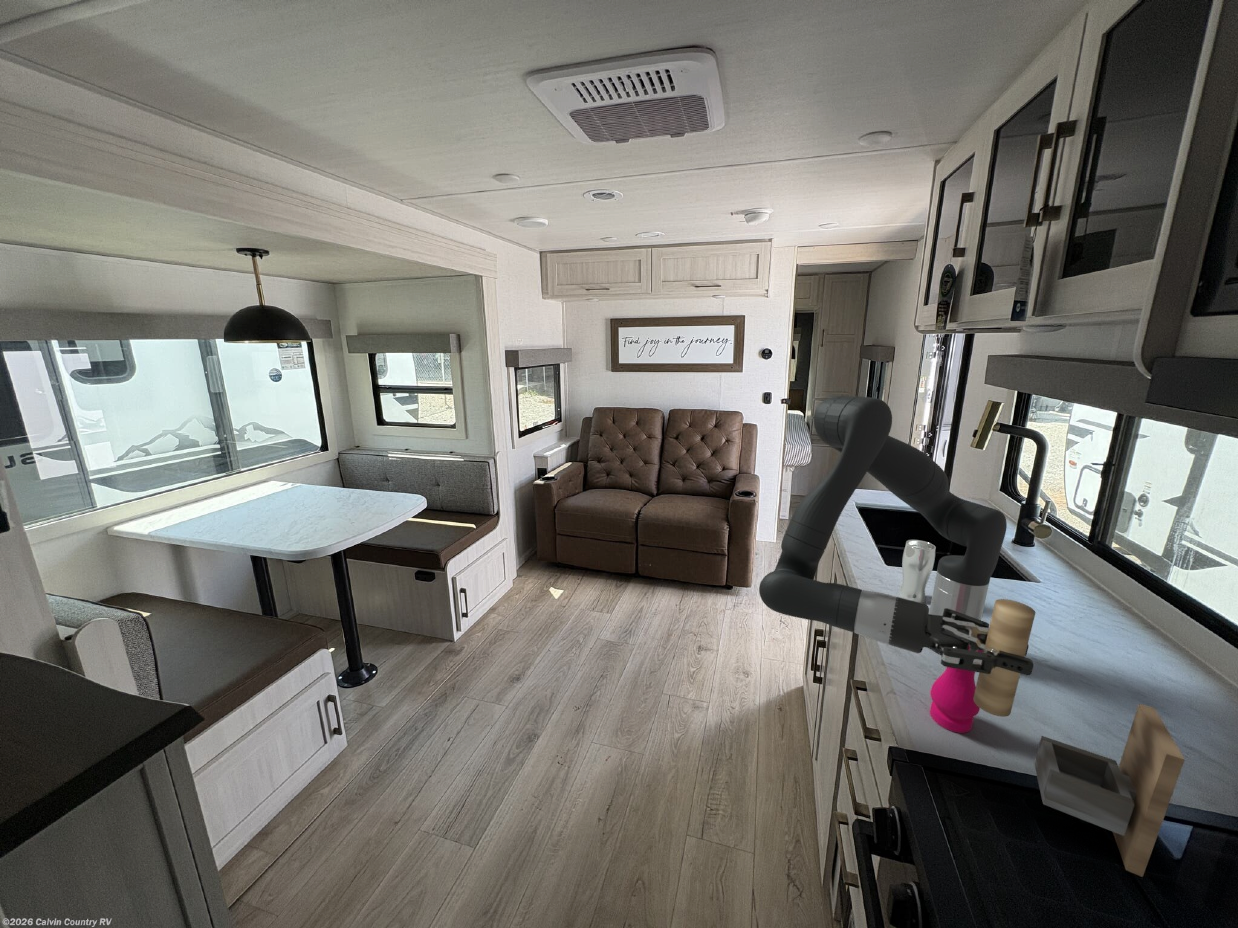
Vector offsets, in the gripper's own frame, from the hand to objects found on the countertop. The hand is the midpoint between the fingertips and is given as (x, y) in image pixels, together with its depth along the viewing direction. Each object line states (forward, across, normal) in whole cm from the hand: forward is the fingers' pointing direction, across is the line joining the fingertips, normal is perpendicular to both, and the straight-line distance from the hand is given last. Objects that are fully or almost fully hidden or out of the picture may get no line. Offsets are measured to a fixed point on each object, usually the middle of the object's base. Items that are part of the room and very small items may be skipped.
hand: (1028, 658), depth 68 cm
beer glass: (-14, +60, +23) cm, 66 cm away
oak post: (-3, 0, +9) cm, 9 cm away
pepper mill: (-6, +13, +23) cm, 27 cm away
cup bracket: (+9, 0, +23) cm, 25 cm away
